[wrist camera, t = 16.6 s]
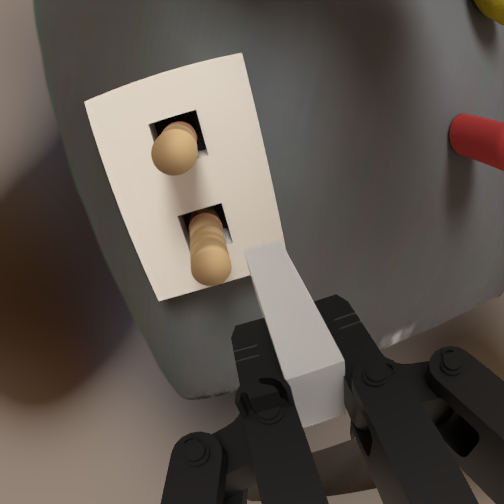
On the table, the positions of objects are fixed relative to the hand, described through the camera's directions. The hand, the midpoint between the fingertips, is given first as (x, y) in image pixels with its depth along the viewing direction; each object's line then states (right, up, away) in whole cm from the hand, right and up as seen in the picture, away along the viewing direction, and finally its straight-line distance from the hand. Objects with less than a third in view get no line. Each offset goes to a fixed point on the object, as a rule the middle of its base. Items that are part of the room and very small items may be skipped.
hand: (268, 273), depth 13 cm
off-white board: (-8, +9, +22) cm, 25 cm away
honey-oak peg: (-6, +5, +25) cm, 26 cm away
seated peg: (-9, +14, +20) cm, 26 cm away
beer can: (+31, +19, +26) cm, 45 cm away
